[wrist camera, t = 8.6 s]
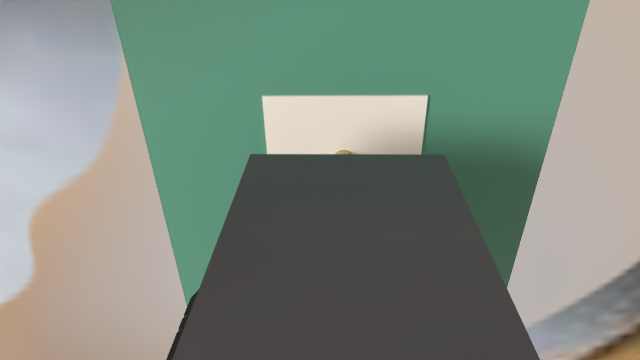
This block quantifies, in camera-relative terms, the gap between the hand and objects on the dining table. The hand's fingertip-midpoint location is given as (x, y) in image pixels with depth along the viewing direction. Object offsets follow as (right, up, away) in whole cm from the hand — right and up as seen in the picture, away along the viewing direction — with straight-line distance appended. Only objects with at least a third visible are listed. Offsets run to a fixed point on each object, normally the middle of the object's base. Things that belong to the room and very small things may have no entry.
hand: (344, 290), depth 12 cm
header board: (0, +3, +6) cm, 6 cm away
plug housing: (0, +1, +1) cm, 1 cm away
